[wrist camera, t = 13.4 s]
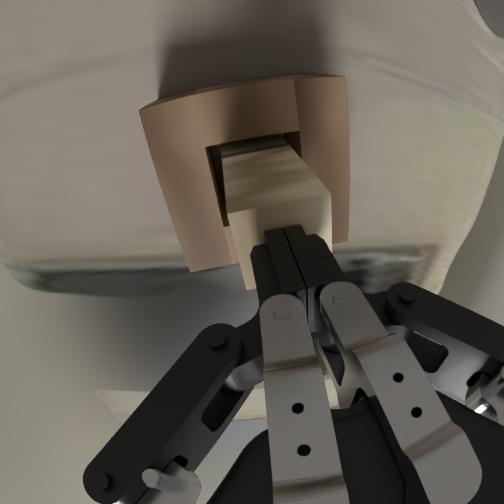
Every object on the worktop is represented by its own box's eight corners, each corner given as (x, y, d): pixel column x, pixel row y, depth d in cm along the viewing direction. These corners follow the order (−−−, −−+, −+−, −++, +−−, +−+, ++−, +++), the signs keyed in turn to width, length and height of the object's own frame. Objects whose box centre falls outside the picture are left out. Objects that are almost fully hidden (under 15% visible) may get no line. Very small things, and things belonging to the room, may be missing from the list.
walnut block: (313, 73, 18) (345, 76, 14) (322, 204, 26) (347, 241, 21) (158, 99, 18) (138, 110, 14) (193, 229, 26) (190, 272, 21)
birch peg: (272, 127, 20) (331, 192, 10) (280, 175, 22) (332, 271, 13) (219, 137, 20) (226, 213, 10) (230, 185, 23) (246, 290, 13)
